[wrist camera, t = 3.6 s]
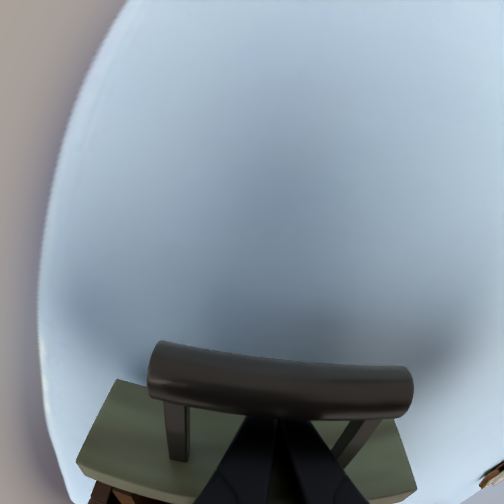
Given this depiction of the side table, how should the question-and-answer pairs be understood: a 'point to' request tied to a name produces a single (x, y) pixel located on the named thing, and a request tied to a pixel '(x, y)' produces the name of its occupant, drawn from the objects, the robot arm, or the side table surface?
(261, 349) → the side table surface
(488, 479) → the harmonica
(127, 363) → the side table surface
